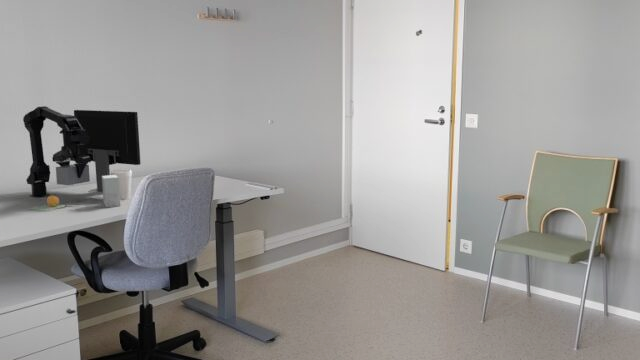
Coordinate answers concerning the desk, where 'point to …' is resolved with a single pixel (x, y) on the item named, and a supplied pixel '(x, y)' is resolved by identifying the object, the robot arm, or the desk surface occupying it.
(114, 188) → the small box
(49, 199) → the ball
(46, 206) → the tape square
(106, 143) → the computer monitor
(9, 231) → the desk surface
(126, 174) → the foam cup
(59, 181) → the large grey box
